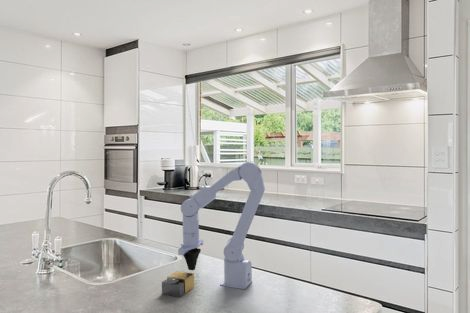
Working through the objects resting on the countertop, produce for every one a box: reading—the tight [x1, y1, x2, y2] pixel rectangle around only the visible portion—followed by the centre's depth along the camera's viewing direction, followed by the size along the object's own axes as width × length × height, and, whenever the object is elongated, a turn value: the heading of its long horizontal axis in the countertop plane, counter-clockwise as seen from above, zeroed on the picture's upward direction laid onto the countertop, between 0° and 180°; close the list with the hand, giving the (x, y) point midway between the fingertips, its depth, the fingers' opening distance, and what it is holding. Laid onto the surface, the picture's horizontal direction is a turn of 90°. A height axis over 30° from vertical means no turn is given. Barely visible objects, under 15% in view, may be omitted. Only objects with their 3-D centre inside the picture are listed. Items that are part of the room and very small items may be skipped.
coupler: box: [161, 277, 185, 298], centre depth 124 cm, size 7×9×5 cm
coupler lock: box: [166, 271, 195, 295], centre depth 126 cm, size 7×6×5 cm
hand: (191, 269), depth 132 cm, fingers closed
